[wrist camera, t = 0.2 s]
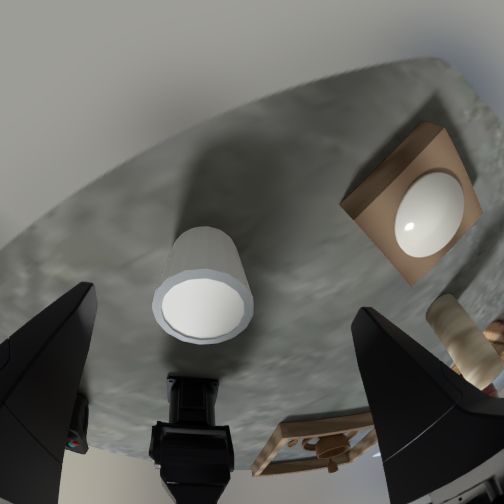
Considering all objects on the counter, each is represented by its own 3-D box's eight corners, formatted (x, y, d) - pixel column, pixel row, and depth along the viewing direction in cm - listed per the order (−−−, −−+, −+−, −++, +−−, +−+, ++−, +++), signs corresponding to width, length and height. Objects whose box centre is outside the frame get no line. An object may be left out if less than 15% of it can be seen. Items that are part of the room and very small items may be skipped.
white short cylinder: (210, 202, 23) (209, 249, 17) (260, 260, 26) (274, 316, 20) (148, 250, 24) (131, 305, 18) (199, 299, 28) (198, 357, 22)
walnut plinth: (397, 270, 29) (413, 289, 26) (339, 204, 24) (355, 222, 21) (465, 200, 25) (485, 214, 22) (422, 120, 20) (447, 128, 18)
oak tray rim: (348, 453, 62) (350, 462, 59) (251, 466, 57) (252, 477, 54) (400, 405, 49) (405, 416, 46) (279, 423, 44) (282, 438, 41)
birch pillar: (442, 321, 35) (486, 388, 24) (419, 322, 34) (465, 397, 23) (459, 293, 33) (511, 360, 22) (437, 293, 32) (492, 368, 21)
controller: (88, 384, 34) (75, 445, 25) (95, 419, 40) (87, 468, 31) (61, 376, 33) (45, 435, 24) (73, 412, 38) (63, 461, 30)
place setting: (376, 416, 51) (385, 438, 46) (331, 453, 60) (337, 471, 55) (304, 423, 47) (311, 451, 42) (267, 458, 56) (271, 480, 51)
